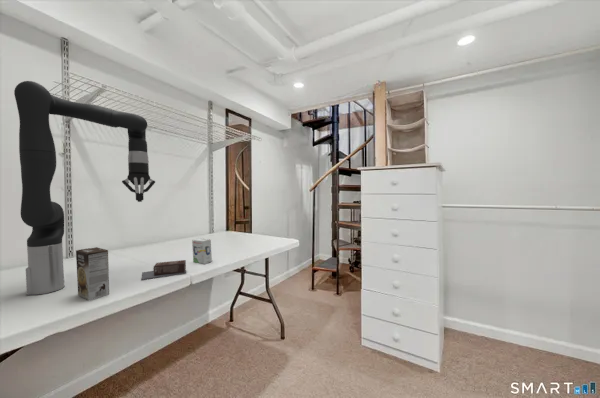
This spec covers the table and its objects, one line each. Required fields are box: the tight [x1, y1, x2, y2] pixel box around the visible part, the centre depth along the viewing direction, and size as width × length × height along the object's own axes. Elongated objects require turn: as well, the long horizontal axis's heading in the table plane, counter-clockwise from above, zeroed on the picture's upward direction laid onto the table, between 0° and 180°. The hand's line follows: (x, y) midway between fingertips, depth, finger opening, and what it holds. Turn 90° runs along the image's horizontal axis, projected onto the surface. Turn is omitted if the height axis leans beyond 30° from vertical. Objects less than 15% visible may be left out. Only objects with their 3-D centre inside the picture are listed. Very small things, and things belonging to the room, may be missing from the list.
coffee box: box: [75, 247, 110, 301], centre depth 89 cm, size 9×6×16 cm
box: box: [152, 259, 187, 276], centre depth 112 cm, size 6×4×12 cm
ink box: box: [191, 237, 213, 265], centre depth 129 cm, size 9×5×12 cm, turn 62°
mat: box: [140, 269, 187, 281], centre depth 112 cm, size 17×10×1 cm, turn 120°
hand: (139, 201), depth 112 cm, fingers closed
